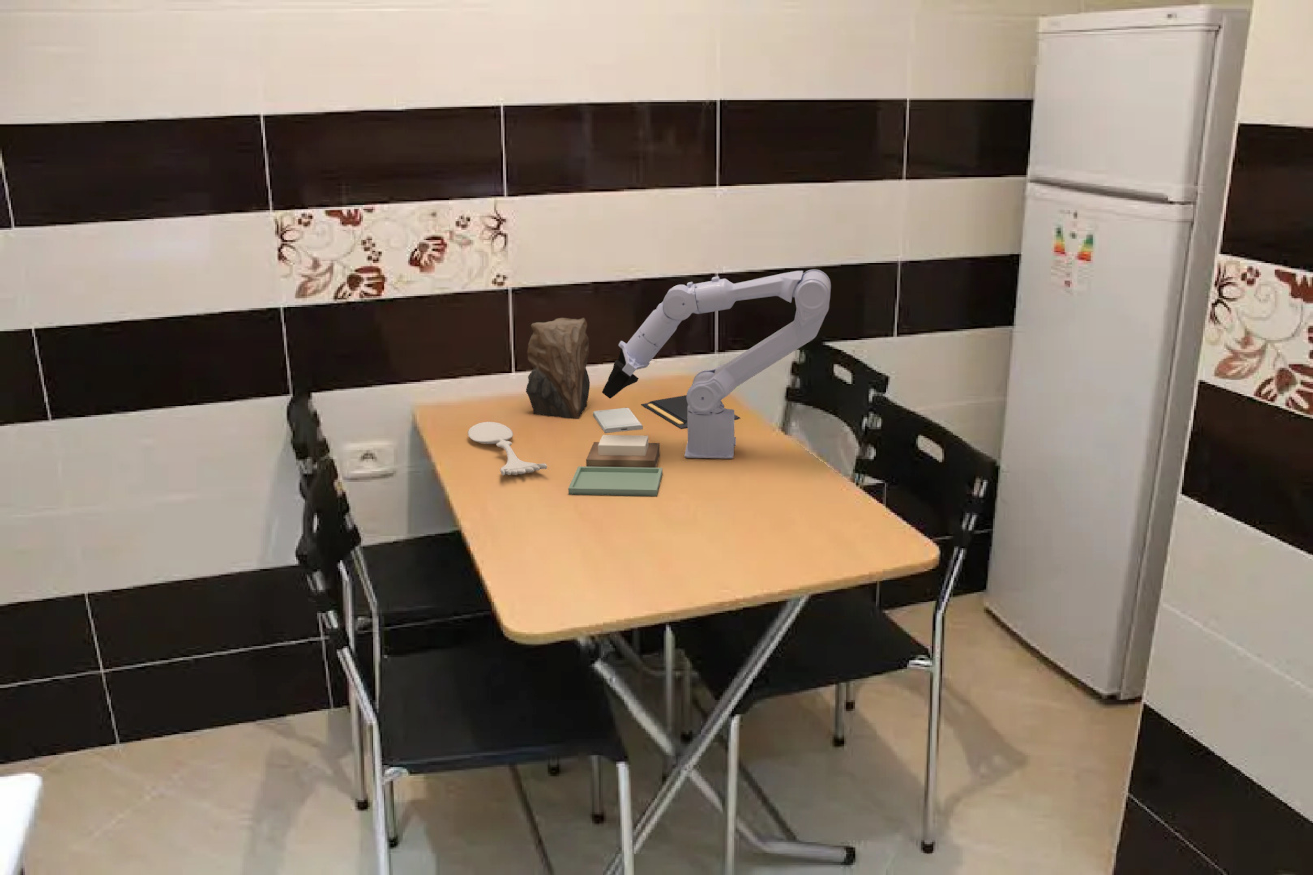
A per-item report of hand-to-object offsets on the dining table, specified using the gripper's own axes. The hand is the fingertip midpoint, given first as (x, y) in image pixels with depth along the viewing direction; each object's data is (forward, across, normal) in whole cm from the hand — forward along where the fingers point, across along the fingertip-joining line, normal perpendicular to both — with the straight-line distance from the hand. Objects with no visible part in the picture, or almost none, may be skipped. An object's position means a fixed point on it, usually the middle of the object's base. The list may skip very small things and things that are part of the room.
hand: (609, 388), depth 221 cm
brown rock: (+20, -23, -2) cm, 30 cm away
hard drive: (+12, -16, +8) cm, 21 cm away
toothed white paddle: (+23, +6, -8) cm, 25 cm away
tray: (+6, +20, +10) cm, 23 cm away
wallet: (+3, -24, +20) cm, 31 cm away
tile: (+5, +8, +9) cm, 13 cm away
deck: (+7, +9, +10) cm, 16 cm away
